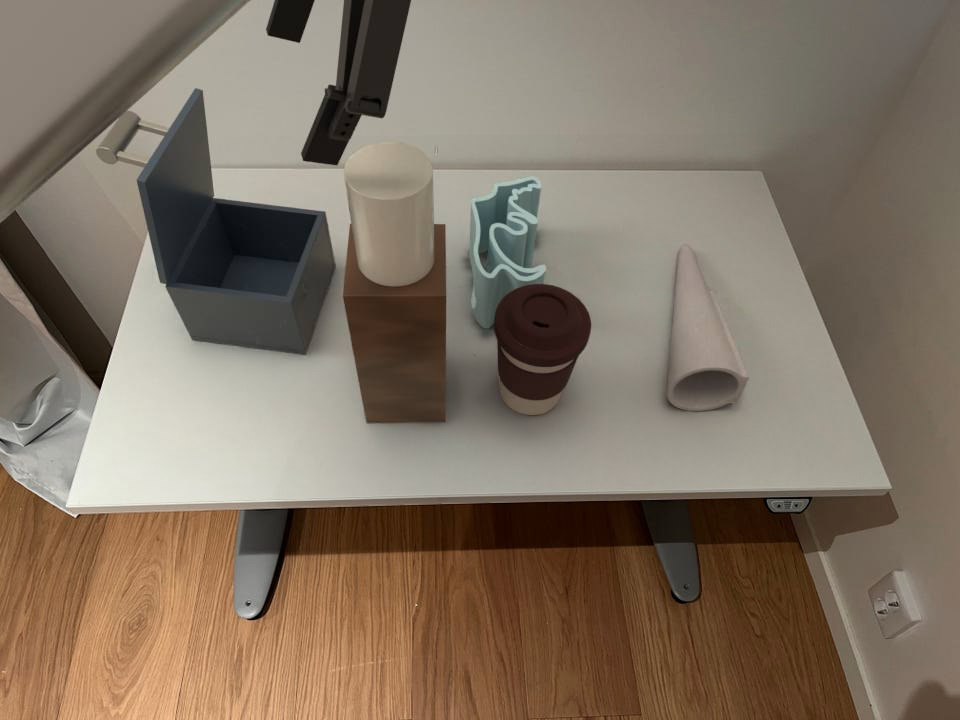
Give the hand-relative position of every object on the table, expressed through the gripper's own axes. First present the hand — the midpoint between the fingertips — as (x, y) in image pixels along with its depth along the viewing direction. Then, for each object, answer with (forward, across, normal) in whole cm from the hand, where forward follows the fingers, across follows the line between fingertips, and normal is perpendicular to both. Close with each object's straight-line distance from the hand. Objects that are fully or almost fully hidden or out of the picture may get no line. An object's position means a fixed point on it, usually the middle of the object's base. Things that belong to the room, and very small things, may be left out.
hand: (300, 95), depth 54 cm
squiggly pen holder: (+23, 0, -35) cm, 42 cm away
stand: (+28, -13, -19) cm, 36 cm away
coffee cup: (+22, -17, -31) cm, 42 cm away
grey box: (+36, +5, -8) cm, 38 cm away
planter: (+13, -14, -51) cm, 54 cm away
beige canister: (+8, -9, -10) cm, 16 cm away
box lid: (+23, +10, +4) cm, 25 cm away
